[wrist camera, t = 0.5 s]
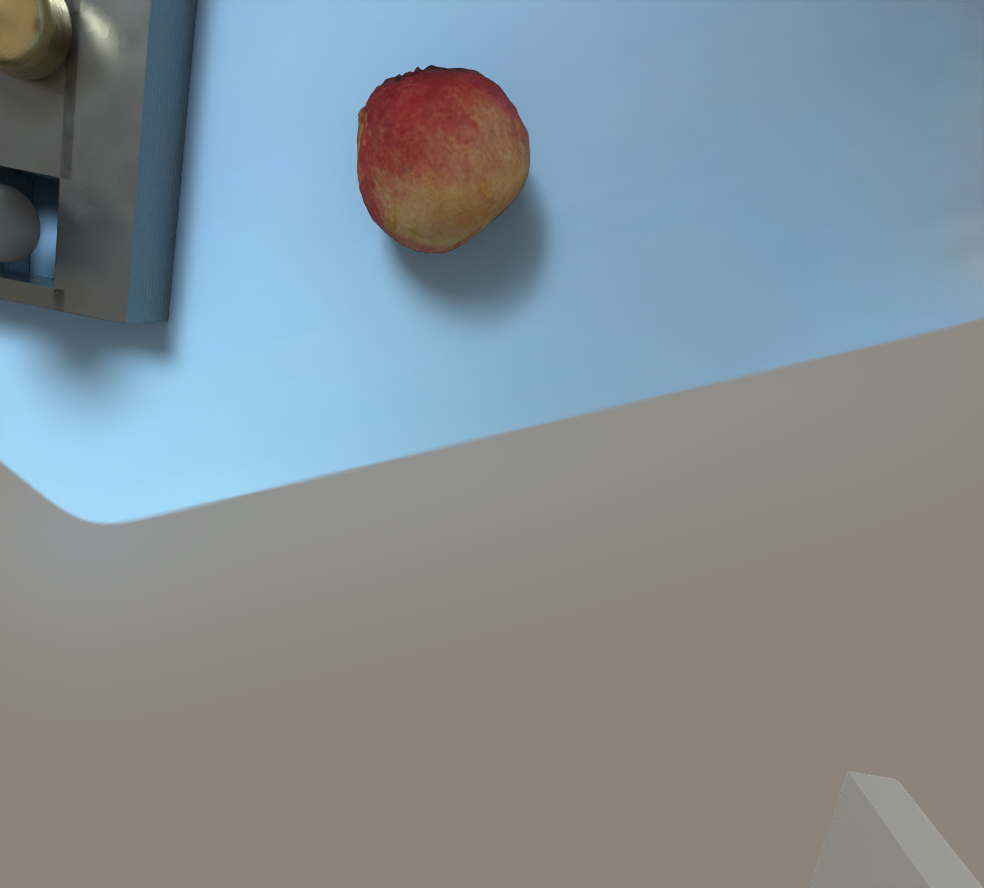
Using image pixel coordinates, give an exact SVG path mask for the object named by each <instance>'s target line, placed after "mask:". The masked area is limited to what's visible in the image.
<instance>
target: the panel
mask: <svg viewBox="0 0 984 888" xmlns="http://www.w3.org/2000/svg"><path fill="white" fill-rule="evenodd" d="M64 1H65V3H66V6H67V8H68V11H69V14H70V18H71V24H72V40H71V45H70V49H69V52H68V54H67V56H66V58H65V60H64V62H63V63H62V64H61V66H60V67H59V68H58V69H57V70H56V71H54V72H53V73H51V74H50V75H48V76H46V77H43V78H40V79H35V80H23V79H18V78H14V77H12V76H9V75H7V74H5V73H2V72H0V184H4V185H8V186H11V187H13V188H15V189H17V190H19V191H20V192H21V193H23V194H24V195H25V196H26V197H27V198H28V199H29V200H30V201H31V203H32V198H33V176H39V177H44V178H49V179H54V180H59V181H60V186H59V205H58V224H57V243H56V262H55V279H51V278H47V277H42V276H37V275H32V274H29V266H30V255H29V256H27V257H26V258H24V259H22V260H20V261H17V262H0V299H3V300H8V301H13V302H18V303H23V304H28V305H33V306H38V307H43V308H48V309H53V310H58V311H63V312H68V313H73V314H78V315H83V316H88V317H93V318H98V319H103V320H108V321H113V322H118V323H123V324H134V323H147V322H161V321H168V313H169V302H170V291H171V280H172V269H173V258H174V246H175V235H176V224H177V213H178V202H179V191H180V180H181V169H182V158H183V147H184V135H185V124H186V113H187V102H188V91H189V80H190V69H191V58H192V47H193V36H194V25H195V13H196V2H197V0H64Z"/></svg>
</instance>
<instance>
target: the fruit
mask: <svg viewBox="0 0 984 888" xmlns="http://www.w3.org/2000/svg"><path fill="white" fill-rule="evenodd" d="M358 116H359V118H358V122H359V127H358V135H357V156H358V158H357V174H358V181H359V188H360V192H361V194H362V198H363V202H364V204H365V206H366V207H367V210H368V212H369V214H370V216H371V217H372V219H373V221H374V222H375V223H376V224H377V225H378V226H379V227H380V228H381V229H382V230H383V231H384V232H385V233H386V234H388V235H389V236H390V237H392V238H393V239H394V240H396V241H397V242H399V243H401V244H402V245H404V246H406V247H408V248H411V249H413V250H415V251H419V252H425V253H428V252H432V253H445V252H448V251H451V250H453V249H455V248H457V247H459V246H461V245H462V244H464V243H466V242H467V241H468V240H470V239H471V238H472V237H473V236H475V235H476V234H478V233H479V232H480V231H482V230H483V229H484V228H485V227H486V226H487V225H489V224H490V223H491V222H492V221H493V220H494V219H495V218H497V217H498V216H499V215H500V214H501V213H502V212H503V211H504V210H505V209H506V208H507V207H508V206H509V205H510V204H511V203H512V202H513V201H514V200H515V199H516V198H517V196H518V194H519V193H520V191H521V190H522V188H523V187H524V185H525V182H526V180H527V177H528V172H529V166H530V149H529V136H528V132H527V129H526V128H525V126H524V124H523V122H522V120H521V119H520V117H519V115H518V112H517V109H516V107H515V106H514V105H513V104H512V103H511V101H510V100H509V99H508V97H507V96H506V94H505V93H504V92H503V90H502V89H501V88H500V86H499V85H497V84H496V83H494V82H493V81H491V80H490V79H488V78H486V77H485V76H483V75H482V74H480V73H479V72H477V71H475V70H469V69H464V68H450V69H447V68H442V67H436V66H433V65H430V66H428V67H427V68H425V69H424V70H421V69H420V68H418V67H417V68H416V69H415V71H414V72H410V71H409V72H408V73H407V72H406V73H405V74H404V75H402V76H401V75H400V74H399V75H397V76H396V77H392V78H388V79H386V80H385V81H384V83H383V84H382V85H380V86H378V87H376V89H375V90H374V91H373V93H372V94H371V95H370V97H369V99H368V101H367V104H366V106H365V107H363V108H362V109H361V110H360V112H359V114H358Z"/></svg>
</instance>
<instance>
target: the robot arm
mask: <svg viewBox="0 0 984 888" xmlns="http://www.w3.org/2000/svg"><path fill="white" fill-rule="evenodd" d="M809 888H982V886H981V885H980V884H979V882H978V881H977V880H976V879H975V877H974V876H973V875H972V874H971V872H970V871H969V870H968V869H967V867H966V866H965V865H964V864H963V862H962V861H961V860H960V858H959V857H958V856H957V855H956V853H955V852H954V851H953V850H952V848H951V847H950V846H949V845H948V843H947V842H946V841H945V839H944V838H943V837H942V836H941V834H940V833H939V832H938V831H937V829H936V828H935V827H934V826H933V824H932V823H931V822H930V821H929V819H928V818H927V817H926V816H925V814H924V813H923V812H922V810H921V809H920V808H919V807H918V806H917V804H916V803H915V802H914V800H913V799H912V798H911V797H910V795H909V794H908V793H907V792H906V790H905V789H904V788H903V787H902V785H901V784H900V783H899V781H898V780H897V779H892V778H886V777H880V776H874V775H868V774H861V773H856V772H849V771H848V773H847V776H846V779H845V782H844V785H843V788H842V791H841V794H840V797H839V800H838V803H837V806H836V809H835V812H834V815H833V818H832V821H831V824H830V827H829V830H828V833H827V836H826V839H825V842H824V845H823V848H822V851H821V854H820V857H819V860H818V863H817V866H816V869H815V872H814V875H813V878H812V881H811V884H810V887H809Z"/></svg>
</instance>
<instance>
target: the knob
mask: <svg viewBox="0 0 984 888" xmlns="http://www.w3.org/2000/svg"><path fill="white" fill-rule="evenodd" d="M39 237H40V221H39V217H38V214H37V212H36V210H35V208H34V206H33V204H32V203H31V201H30V200H29V199H28V198H27V197H26V196H25V195H24V194H23V193H21V192H20V191H19V190H17V189H15V188H13V187H11V186H8V185H4V184H0V262H17V261H20V260H22V259H24V258H26V257H27V256H29V255H30V254H31V253H32V252H33V250H34V249H35V247H36V246H37V243H38V241H39Z"/></svg>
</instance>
